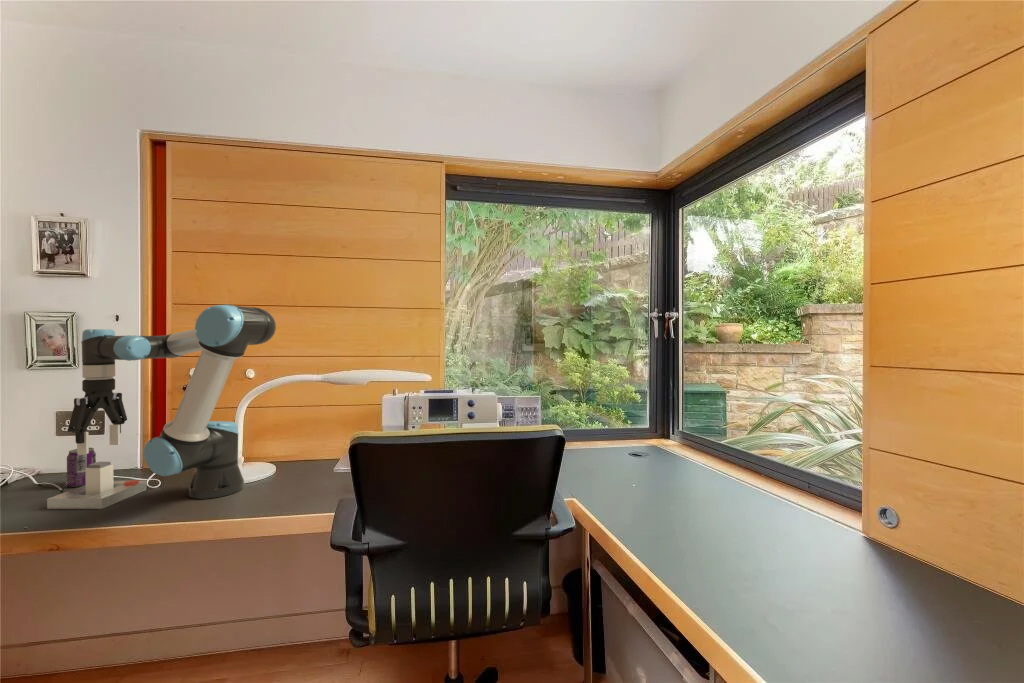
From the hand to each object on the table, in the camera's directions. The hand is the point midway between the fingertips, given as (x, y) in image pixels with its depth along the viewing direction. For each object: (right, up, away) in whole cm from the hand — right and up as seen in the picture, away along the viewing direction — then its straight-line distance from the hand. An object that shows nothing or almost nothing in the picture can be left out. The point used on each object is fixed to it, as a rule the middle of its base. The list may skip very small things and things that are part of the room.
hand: (99, 448), depth 137 cm
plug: (0, -16, 0) cm, 16 cm away
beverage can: (-18, -16, +13) cm, 27 cm away
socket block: (0, -16, 0) cm, 16 cm away
